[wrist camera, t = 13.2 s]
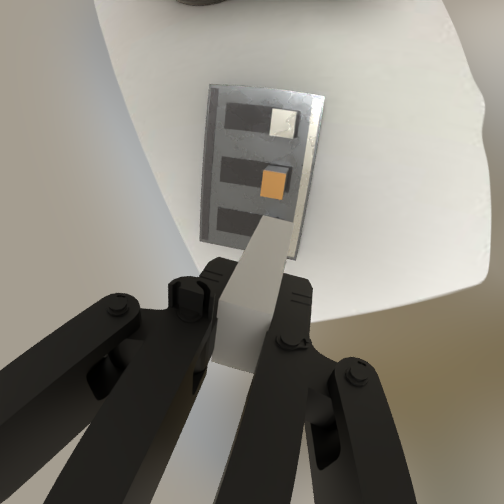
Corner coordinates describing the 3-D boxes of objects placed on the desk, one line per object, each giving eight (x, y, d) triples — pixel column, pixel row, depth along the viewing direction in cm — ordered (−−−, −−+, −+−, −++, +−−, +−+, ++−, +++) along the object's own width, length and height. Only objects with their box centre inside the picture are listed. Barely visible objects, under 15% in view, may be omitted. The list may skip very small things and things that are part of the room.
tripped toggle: (268, 164, 34) (263, 170, 30) (289, 168, 33) (285, 174, 30) (265, 187, 35) (260, 196, 32) (285, 191, 35) (281, 200, 31)
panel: (214, 85, 32) (196, 81, 27) (324, 97, 30) (325, 94, 25) (204, 235, 43) (188, 253, 38) (296, 253, 41) (293, 275, 36)
